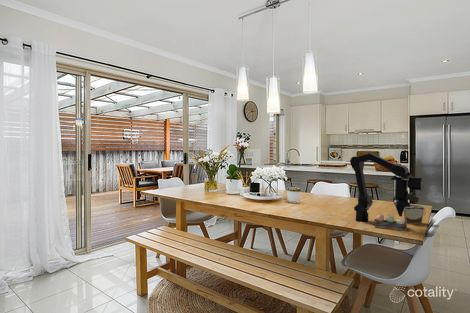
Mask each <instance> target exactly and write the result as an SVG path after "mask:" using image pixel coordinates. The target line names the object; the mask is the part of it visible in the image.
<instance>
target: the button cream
mask: <svg viewBox="0 0 470 313" xmlns="http://www.w3.org/2000/svg"><path fill="white" fill-rule="evenodd" d="M395 221H396V223H397V224H404V222H405V220H404V219H399V218H397V219H396V220H395Z"/></svg>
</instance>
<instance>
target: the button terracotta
mask: <svg viewBox="0 0 470 313" xmlns="http://www.w3.org/2000/svg"><path fill="white" fill-rule="evenodd" d="M376 219H377V221H378V222H384V220H385V216H384V215H382V214H377V215H376Z"/></svg>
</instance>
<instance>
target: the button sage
mask: <svg viewBox="0 0 470 313" xmlns="http://www.w3.org/2000/svg"><path fill="white" fill-rule="evenodd" d="M385 220H386V222H388V223H394V221H395V216H393V215H386V219H385Z"/></svg>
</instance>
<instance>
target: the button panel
mask: <svg viewBox="0 0 470 313" xmlns="http://www.w3.org/2000/svg"><path fill="white" fill-rule="evenodd" d="M374 228H375V229H386V230H394V231H395V230H396V231H404V232H408V224H406V223H405V221H404V224H397V223H396V220H394V223H388V222H386V219H384V222H378V221H377V218H374Z"/></svg>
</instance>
